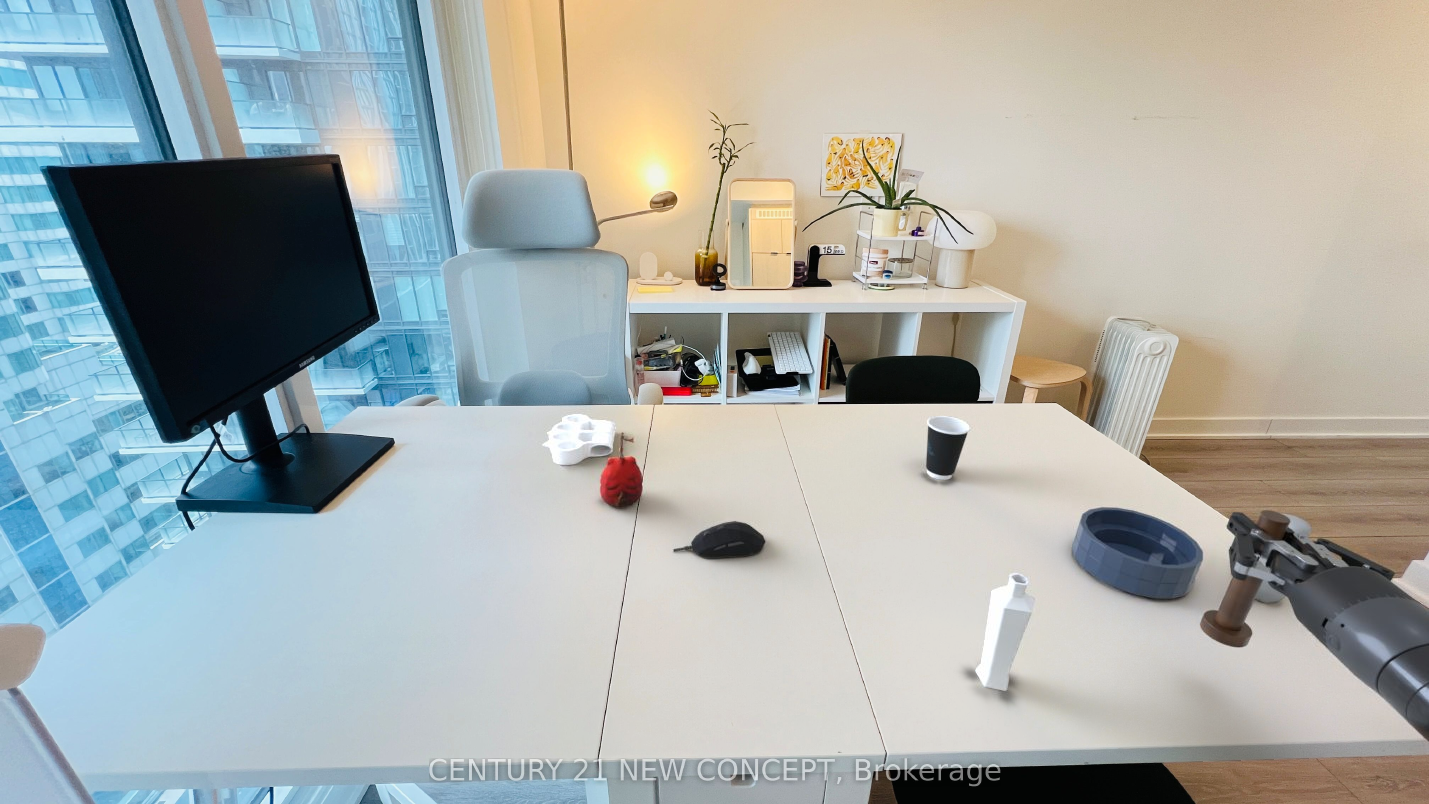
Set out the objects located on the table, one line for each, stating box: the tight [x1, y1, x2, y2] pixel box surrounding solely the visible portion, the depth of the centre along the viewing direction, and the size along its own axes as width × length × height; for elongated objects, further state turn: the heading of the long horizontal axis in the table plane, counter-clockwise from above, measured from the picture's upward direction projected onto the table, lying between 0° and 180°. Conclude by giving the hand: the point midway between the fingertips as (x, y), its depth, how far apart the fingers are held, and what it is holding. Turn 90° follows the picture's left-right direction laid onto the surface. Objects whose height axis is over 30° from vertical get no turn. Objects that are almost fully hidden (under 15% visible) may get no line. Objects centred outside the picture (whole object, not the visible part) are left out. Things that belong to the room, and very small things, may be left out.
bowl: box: [1071, 506, 1204, 600], centre depth 92 cm, size 16×16×6 cm
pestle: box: [1199, 509, 1291, 648], centre depth 66 cm, size 4×4×16 cm
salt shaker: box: [1255, 513, 1313, 604], centre depth 85 cm, size 6×6×13 cm
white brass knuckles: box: [542, 413, 617, 466], centre depth 128 cm, size 3×18×15 cm
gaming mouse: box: [672, 520, 766, 559], centre depth 95 cm, size 6×15×4 cm, turn 99°
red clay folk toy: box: [599, 432, 644, 509], centre depth 105 cm, size 8×7×15 cm
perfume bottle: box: [975, 572, 1036, 692], centre depth 70 cm, size 5×4×15 cm
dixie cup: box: [925, 415, 971, 481], centre depth 117 cm, size 8×8×11 cm
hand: (1248, 520), depth 66 cm, fingers closed on pestle, 2 cm apart
